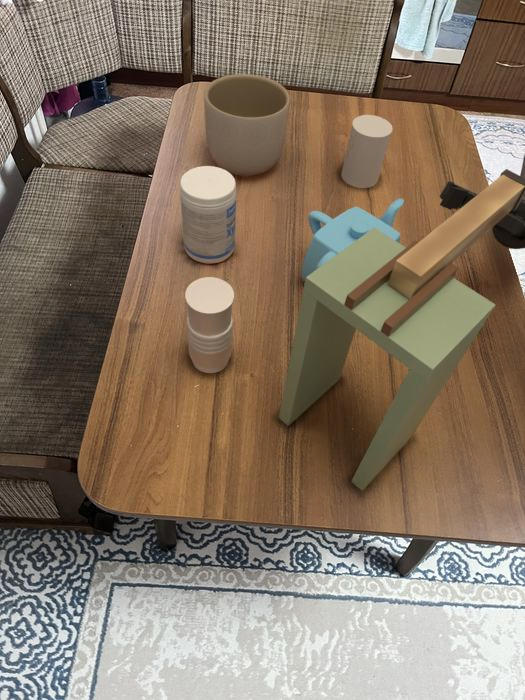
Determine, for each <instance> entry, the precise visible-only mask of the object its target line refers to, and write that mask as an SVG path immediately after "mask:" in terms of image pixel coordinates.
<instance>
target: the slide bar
mask: <svg viewBox="0 0 525 700" xmlns="http://www.w3.org/2000/svg"><path fill="white" fill-rule="evenodd" d="M477 194H478V195H477V196H475V197H474V198H473V199H472V200H471V201H469V202H468V203H467V204H466V205H464V206H463V207H462V208H461V209H460V208H458V209H457V211H455V212H454V213H453V214H452V215H450V216H449V217H448V218H447V219H445V220H444V221H443V222H442V223H441V224H439V225H438V226H437V227H436V228H435V229H434V230H432V231H431V232H430V233H428V234H427V235H426V236H424V237H423V238H422V239H421V240H419V241H418V243H417V244H416V245H415V246H414V247H412V248H411V249H410V250H409V251H407V252H406V253H405V254H404V255H402V256H401V257H400V258H399V259H397V260H396V263H395V265H394V268H393V271H392V273H391V276H390V279H389V281H388V285H389V286H391V287H392V288H394V289H395V290H396V291H398V292H399V293H401V294H402V295H404V296H405V297H407V298H408V299H410V298H412V297H413V296H414V295H415V294H416V293H417V292H418V291H420V290H421V289H422V288H423V287H424V286H425V285H426V284H427V283H429V282H430V281H431V280H432V279H433V278H434V277H435V276H436V275H438V274H439V273H440V272H441V271H442V270H443V269H444V268H446V267H447V266H448V265H449V264H450V263H452V264H454V262H455V261H456V260H457V259H459V257H461V256H462V255H463V254H464V253H465V252H466V251H467V250H469V249H470V248H471V247H472V246H473V245H474V244H475V243H476V242H478V241H479V240H480V239H481V238H482V237H483V236H485V234H487V233H488V232H489V231H490V230H492V227H493V226H494V225H496V224H497V223H498V222H499V221H500V220H501V219H502V218H503V217H505V216H506V215H507V214H508V213H509V212H510V211H512V212H513V211H514V210H515V209H517V208H518V206H519V204H520V202H521V200H522V199H523V197H524V195H525V178H523V177H521V176H520V174H517V173H516V172H513V171H512V170H510V169H507V168H506V169H504V170H503V171H502V172H501V173H500V175H499V176H498V178H496V179H495V180H494V181H493V182H492V183H490V184H489V185H488V186H486V187H485V188H484V189H483V190H481V191H480V192H479V193H477Z"/></svg>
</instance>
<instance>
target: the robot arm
mask: <svg viewBox="0 0 525 700" xmlns="http://www.w3.org/2000/svg"><path fill="white" fill-rule="evenodd" d="M521 165H522V166H521V170H520V174H519V176H521V177H523V178H525V154H524V155H523V160H522V164H521ZM478 194H479V193H477V192H474V191H472V190H470V189H467V188H465V187H463V186H461V185H459V184H456V183H455V182H453V181H449V180H448V181H447V183H446V185H445V186H444V188H443V190H442V191H441V192H440V195H439V198H440V200H441V201H440V203H439V206H440V207H442V208H444V209H445V208H446V209H448V210H449V211H452V209H453V210H459V209H461V208H462V207H463V206H464V205H466V204H467V203H468V202H469V201H471V200H472V199H473V198H474V197H475V196H477V195H478ZM491 231H492V234H493V237H494V238H495V240H496V241H497V243H499V244H500V245H501V246H502V247H505V248H507V249H509V250H521V249H525V195H524V197H523V199H522V200H521V202H520V204H519V206H518V208H517V209H515V210H514V211H513V212H512V211H510V212H509V213H508V214H507V215H506V216H505V217H503V218H502V219H501V220H500V221H499V222H498V223H497V224H496V225H494V226H493V227H492V228H491Z"/></svg>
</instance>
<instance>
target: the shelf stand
mask: <svg viewBox="0 0 525 700" xmlns="http://www.w3.org/2000/svg"><path fill="white" fill-rule="evenodd" d="M417 243H419V241H417V240H414V241H413V242H411V243H410V244H409V245H408V246H404V245H403V244H401V243H398V242H397V241H395V240H393V239H392V238H390V237H389V236H387V235H386V234H384V233H382V232H381V231H379V230H378V229H376V228H375V227H374V228H372V229H371V230H370V231H368V232H367V233H366V234H364V235H363V236H362V237H360V238H359V239H357V240H356V241H355V242H353V243H352V244H351V245H349V246H348V247H347V248H345V249H344V250H342V251H341V252H340V253H338V254H337V255H336V256H334V257H333V258H332V259H330V260H329V261H327V262H326V263H325V264H323V265H322V266H321V267H319V268H318V269H317V270H315V271H314V272H312V273H311V274H310V275H308V276H307V277H306V279H305V281H304V286H303V290H302V295H301V299H300V300H301V301H300V305H299V310H298V314H297V315H298V317H297V321H296V326H295V331H294V336H293V341H292V346H291V352H290V357H289V362H288V368H287V372H286V377H285V383H284V388H283V392H282V393H283V394H282V399H281V404H280V409H279V414H278V418H279V420H281V421H282V422H283V423H284V424H285V425H286V426H287V427H289V426H290V425H291V424H293V422H295V421H296V420H297V419H298V418H299V417H300V416H301V415H302V414H303V413H304V412H305V411H306V410H308V408H310V407H311V406H312V405H313V404H314V403H316V401H318V400H319V399H320V398H322V396H323V395H324V394H326V392H328V391H329V390H330V389H331V388H332V387H333V386H334V385H335V384H336V383H338V382H339V381H340V377H341V376H342V372H343V369H344V366H345V363H346V360H347V357H348V354H349V352H350V348H351V345H352V343H353V339H354V337H355V334H356V330H357V331H358V332H359V333H361V335H363V336H365V337H366V338H368V339H369V340H370V341H371V342H373V343H374V344H375V345H377V346H378V347H380V348H381V349H382V350H384V351H385V352H386V353H388V354H389V355H391V356H392V357H394V359H396V360H397V361H399V362H400V363H401V364H402V365H404V366H405V367H407V368H408V371H407V373H406V375H405V376H404V378H403V380H402V382H401V384H400V386H399V388H398V389H397V392H396V394H395V396H394V397H393V400H392V401H391V402H390V403H391V404H390V405H389V407H388V408H387V411H386V413H385V415H384V416H383V419H382V421H381V422H380V425H379V426H378V428H377V431H376V433H375V435H374V436H373V438H372V440H371V442H370V444H369V446H368V448H367V450H366V451H365V453H364V455H363V458H362V459H361V461H360V462H359V465H358V467H357V469H356V471H355V473H354V475H353V477H352V479H351V481H350V482H351V483H352V484H353V485H354V486H356V488H358V489H359V490H360V491H361V492H363V491H364V490H365V489H366V488H367V487H368V485H369V484H370V483H371V482H372V481H373V480H374V479H375V478H376V477H377V476H378V475H379V474H380V472H382V470H383V469H384V468H385V467H386V466H387V465H388V464H389V462H390V461H391V460H392V459H393V458H394V457H395V456H396V455H397V454H398V453H399V451H400V450H401V449H402V448H403V447H405V445H406V444H407V442H409V440H411V438H412V437H413V435H414V434H415V432H416V431H417V429H418V428H419V426H420V424H421V423H422V421H423V419H424V418H425V417H426V415H427V413H428V412H429V410H430V408H432V405H433V404H434V403H435V401H436V399H437V398H438V397H439V395H440V393H441V391H442V390H443V388H444V387H445V385H446V384H447V382H448V380H449V379H450V377H451V376H452V374H453V372H454V371H455V370H456V368H457V366H458V365H459V363H461V361H462V359H463V358H464V355H466V353H467V351H468V350H469V348H470V346H471V345H472V343H473V342H474V340H475V338H476V337H477V336H478V334H479V332H480V331H481V329H482V328H483V326H484V324H485V323H486V322H487V320H488V319H489V316H490V315H491V313H492V312H493V310H494V309H495V307H496V303H494V302H492V301H491V300H489V299H488V298H487V297H485V296H483V295H481V293H478V292H476V291H475V290H473V289H472V288H471V287H469V286H467V285H466V284H464V283H463V282H461V281H459V280H458V279H456V278H455V276H456V274H457V272H458V270H459V267H458V266H457V265H455V264H454V263H450V264H449V265H448V266H447V267H446V268H444V269H443V270H442V271H441V272H440V273H439V274H438V275H436V276H435V277H434V278H433V279H432V280H431V281H430V282H429V283H427V284H426V285H425V286H424V287H423V288H422V289H421V290H420V291H418V292H417V293H416V294H415V295H414V296H413V297H412V298H410V299H408V298H407V297H405V296H404V295H402V294H401V293H399V292H398V291H396V290H395V289H394V288H392V287H391V286H389V285H388V281H389V279H390V276H391V273H392V271H393V268H394V265H395V263H396V260H397V259H399V258H400V257H401V256H402V255H404V254H405V253H406V252H407V251H409V250H410V249H411V248H412V247H414V246H415V245H416V244H417Z"/></svg>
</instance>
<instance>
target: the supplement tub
mask: <svg viewBox="0 0 525 700" xmlns="http://www.w3.org/2000/svg"><path fill="white" fill-rule="evenodd" d="M179 183H180V186H179V194H180V195H179V196H180V197H179V198H180V210H181V224H182V236H183V237H182V238H183V239H182V240H183V248H184V251H185V252H186V254H187V255H188V256H189V257H190V258H191V259H192V260H194V261H196V262H199V263H203V264H217V263H221V262H223V261H225V260H227V259H228V258H230V257H231V256H232V254H233V253H234V251H235V246H236V219H237V218H236V217H237V214H236V213H237V187H236V185H237V183H236V179H235V177H234V176H233V174H231V173H229V172H228V171H226V170H224V169H222V168H221V167H219V166H214V165H213V166H212V165H202V166H196V167H193V168H190V169H189V170H187V171H185V173H183V175H182V176H181V178H180V182H179Z"/></svg>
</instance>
